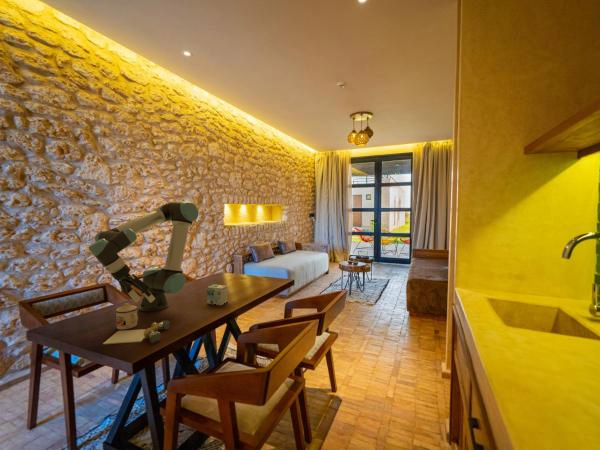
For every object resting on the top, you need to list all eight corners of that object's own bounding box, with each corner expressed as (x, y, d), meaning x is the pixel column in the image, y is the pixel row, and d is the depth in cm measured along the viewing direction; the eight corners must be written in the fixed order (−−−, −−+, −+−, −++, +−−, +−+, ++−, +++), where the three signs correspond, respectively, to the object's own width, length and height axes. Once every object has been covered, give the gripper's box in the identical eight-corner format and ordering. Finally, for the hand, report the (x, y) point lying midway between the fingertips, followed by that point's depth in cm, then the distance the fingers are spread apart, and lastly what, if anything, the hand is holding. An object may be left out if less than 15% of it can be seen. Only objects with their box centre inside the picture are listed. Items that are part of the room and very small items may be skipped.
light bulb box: (206, 303, 174) (206, 286, 173) (213, 300, 180) (213, 284, 180) (221, 305, 170) (221, 288, 170) (227, 302, 177) (227, 285, 176)
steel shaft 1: (161, 340, 123) (161, 329, 123) (151, 343, 120) (151, 333, 119) (153, 336, 127) (153, 326, 127) (143, 339, 123) (143, 329, 123)
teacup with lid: (111, 328, 136) (111, 304, 136) (129, 321, 144) (129, 299, 144) (128, 332, 131) (127, 308, 131) (145, 325, 139) (145, 302, 139)
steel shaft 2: (165, 326, 138) (164, 317, 138) (169, 329, 135) (169, 319, 135) (151, 331, 132) (151, 321, 132) (155, 333, 130) (155, 324, 130)
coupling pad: (118, 331, 132) (118, 330, 132) (152, 329, 134) (151, 328, 134) (103, 344, 119) (103, 343, 119) (141, 341, 121) (140, 340, 121)
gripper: (99, 275, 137) (126, 305, 145) (124, 272, 123) (153, 306, 132) (112, 265, 142) (138, 295, 151) (138, 261, 129) (165, 295, 137)
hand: (145, 300), depth 141 cm, fingers open, 13 cm apart
